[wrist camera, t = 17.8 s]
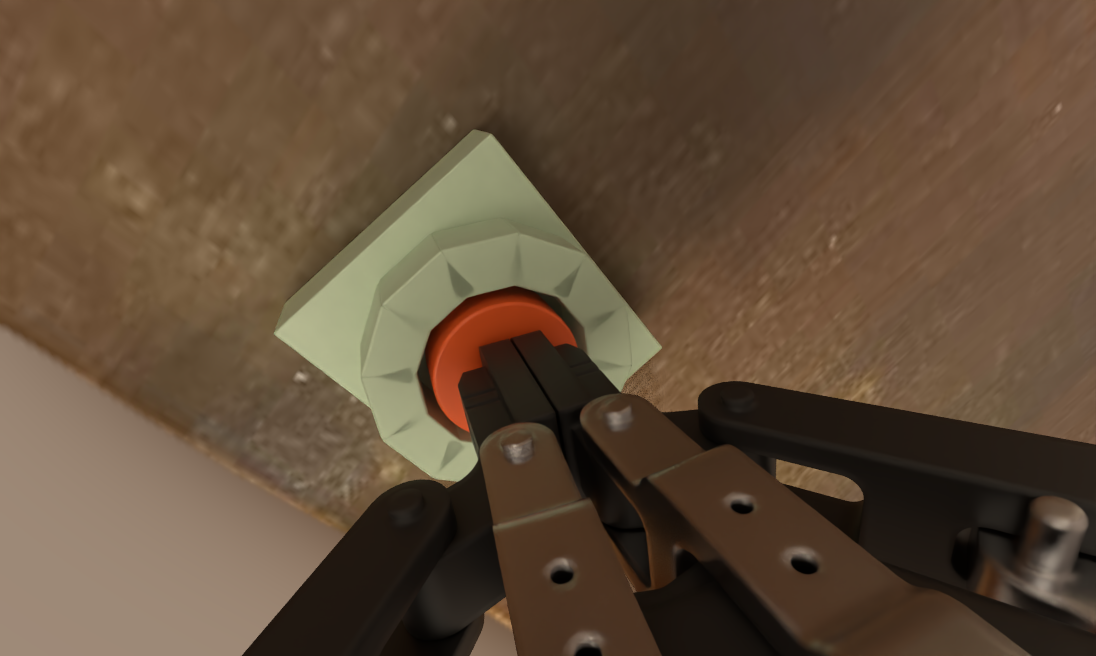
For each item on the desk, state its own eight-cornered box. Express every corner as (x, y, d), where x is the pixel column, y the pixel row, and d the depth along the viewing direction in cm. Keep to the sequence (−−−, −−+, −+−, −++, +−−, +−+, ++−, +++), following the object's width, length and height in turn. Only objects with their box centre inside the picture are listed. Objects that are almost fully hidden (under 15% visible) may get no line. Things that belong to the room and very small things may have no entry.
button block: (283, 303, 15) (260, 366, 11) (474, 128, 15) (510, 137, 11) (478, 460, 19) (505, 543, 15) (631, 322, 19) (695, 374, 15)
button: (394, 348, 14) (398, 379, 12) (500, 251, 14) (518, 270, 12) (487, 428, 15) (501, 464, 14) (582, 342, 15) (607, 369, 14)
